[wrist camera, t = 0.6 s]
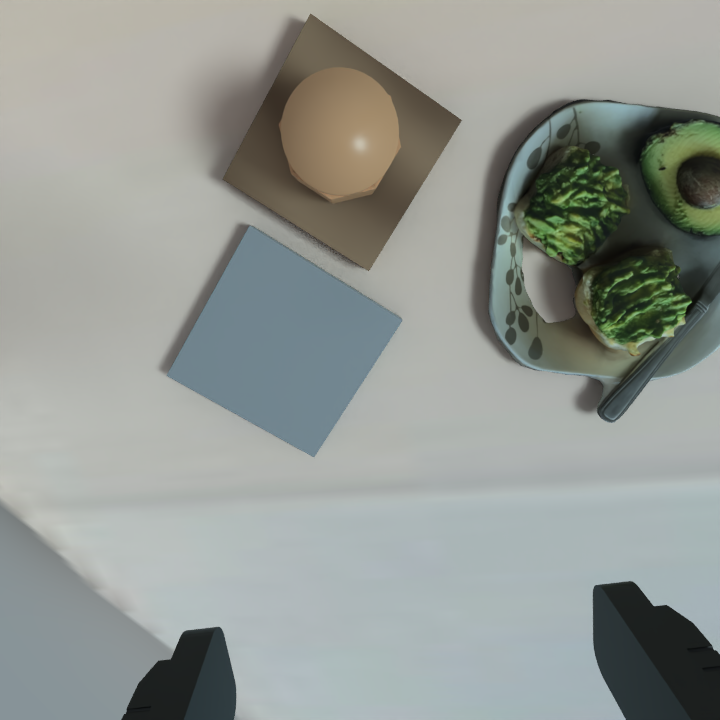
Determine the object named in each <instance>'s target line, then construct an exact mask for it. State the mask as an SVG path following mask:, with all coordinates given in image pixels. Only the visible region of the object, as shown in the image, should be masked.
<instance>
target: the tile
mask: <svg viewBox="0 0 720 720" xmlns="http://www.w3.org/2000/svg"><path fill="white" fill-rule="evenodd" d="M401 322H402V319H401V317H399V316H397V315H396V314H394V313H393V312H391V311H389V310H388V309H386V308H384V307H383V306H381V305H380V304H378V303H376V302H375V301H373V300H372V299H370V298H368V297H367V296H365V295H363V294H362V293H360V292H359V291H357V290H355V289H354V288H352V287H351V286H349V285H347V284H346V283H344V282H343V281H341V280H339V279H338V278H336V277H334V276H333V275H331V274H330V273H328V272H326V271H325V270H323V269H322V268H320V267H318V266H317V265H315V264H314V263H312V262H310V261H309V260H307V259H305V258H304V257H302V256H301V255H299V254H297V253H296V252H294V251H293V250H291V249H289V248H288V247H286V246H284V245H283V244H281V243H280V242H278V241H276V240H275V239H273V238H272V237H270V236H268V235H267V234H265V233H264V232H262V231H260V230H259V229H257V228H255V227H254V226H249V228H248V229H247V231H246V233H245V235H244V237H243V238H242V240H241V242H240V244H239V246H238V247H237V249H236V251H235V253H234V255H233V257H232V258H231V260H230V262H229V264H228V266H227V267H226V269H225V271H224V273H223V275H222V276H221V278H220V280H219V282H218V284H217V285H216V287H215V289H214V291H213V293H212V294H211V296H210V298H209V300H208V302H207V304H206V305H205V307H204V309H203V311H202V313H201V314H200V316H199V318H198V320H197V322H196V323H195V325H194V327H193V329H192V331H191V332H190V334H189V336H188V338H187V340H186V341H185V343H184V345H183V347H182V349H181V351H180V352H179V354H178V356H177V358H176V360H175V361H174V363H173V365H172V367H171V369H170V370H169V372H168V374H167V376H168V377H170V378H172V379H174V380H175V381H177V382H179V383H181V384H183V385H184V386H186V387H188V388H190V389H192V390H193V391H195V392H197V393H199V394H201V395H203V396H204V397H206V398H208V399H210V400H212V401H213V402H215V403H217V404H219V405H221V406H222V407H224V408H226V409H228V410H230V411H231V412H233V413H235V414H237V415H239V416H240V417H242V418H244V419H246V420H248V421H249V422H251V423H253V424H255V425H257V426H258V427H260V428H262V429H264V430H266V431H267V432H269V433H271V434H273V435H275V436H276V437H278V438H280V439H282V440H284V441H286V442H287V443H289V444H291V445H293V446H295V447H296V448H298V449H300V450H302V451H304V452H305V453H307V454H309V455H311V456H313V457H315V455H316V453H317V452H318V450H319V449H320V447H321V446H322V444H323V443H324V441H325V440H326V438H327V436H328V435H329V433H330V432H331V430H332V429H333V427H334V426H335V424H336V423H337V421H338V419H339V418H340V416H341V415H342V413H343V412H344V410H345V409H346V407H347V406H348V404H349V402H350V401H351V399H352V398H353V396H354V395H355V393H356V392H357V390H358V388H359V387H360V385H361V384H362V382H363V381H364V379H365V378H366V376H367V375H368V373H369V371H370V370H371V368H372V367H373V365H374V364H375V362H376V361H377V359H378V358H379V356H380V354H381V353H382V351H383V350H384V348H385V347H386V345H387V344H388V342H389V341H390V339H391V337H392V336H393V334H394V333H395V331H396V330H397V328H398V327H399V325H400V323H401Z"/></svg>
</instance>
